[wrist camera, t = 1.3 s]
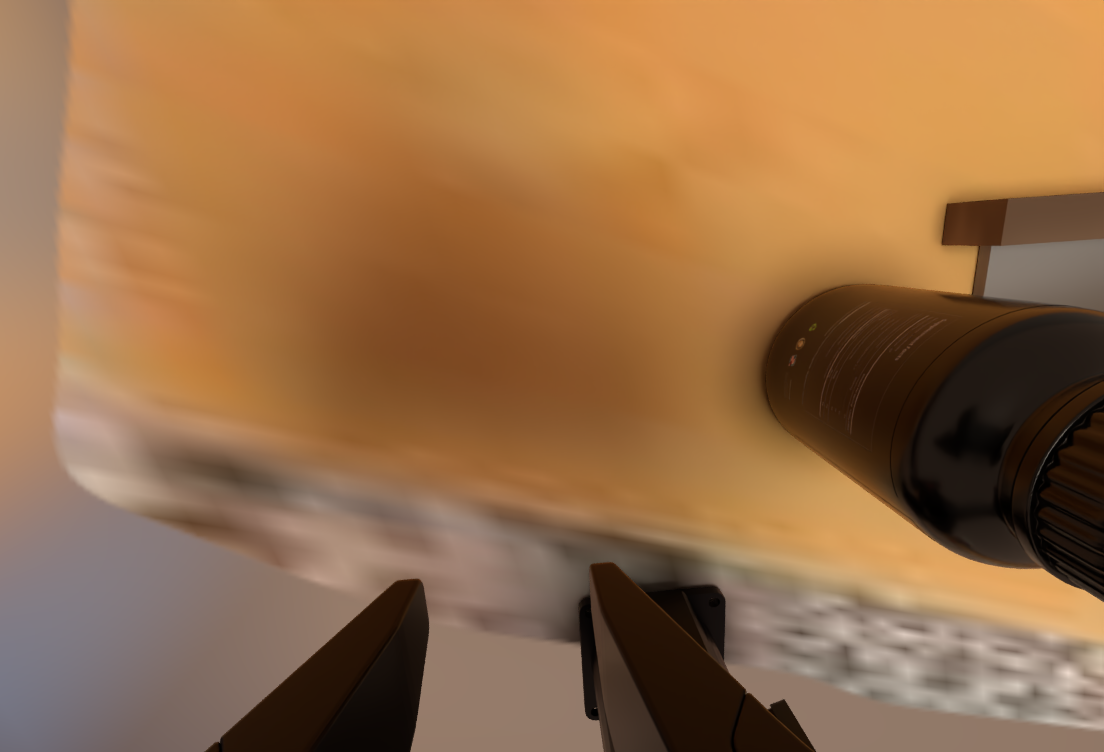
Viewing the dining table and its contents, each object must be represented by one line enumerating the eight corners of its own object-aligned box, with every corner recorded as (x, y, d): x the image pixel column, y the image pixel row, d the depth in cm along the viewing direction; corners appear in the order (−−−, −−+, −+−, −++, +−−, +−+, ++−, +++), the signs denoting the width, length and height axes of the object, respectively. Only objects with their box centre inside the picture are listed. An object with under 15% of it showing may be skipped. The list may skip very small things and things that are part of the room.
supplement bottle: (958, 323, 20) (1528, 434, 9) (865, 467, 22) (1246, 727, 10) (814, 250, 19) (1242, 268, 8) (727, 407, 21) (975, 619, 9)
